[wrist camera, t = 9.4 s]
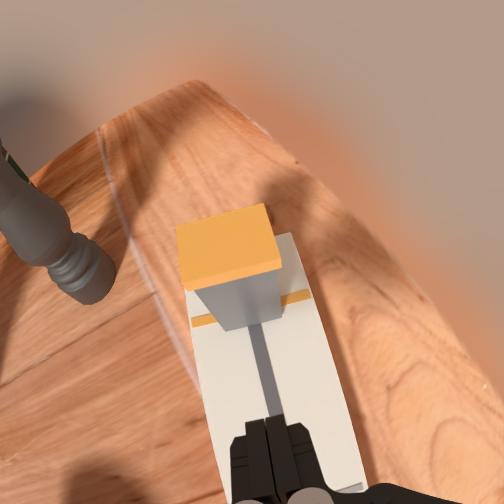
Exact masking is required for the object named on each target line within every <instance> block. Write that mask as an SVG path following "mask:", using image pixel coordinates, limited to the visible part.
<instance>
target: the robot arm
mask: <svg viewBox="0 0 504 504" xmlns="http://www.w3.org/2000/svg"><path fill="white" fill-rule="evenodd" d="M245 432H246V435H243V436H238V437H234V440H233V442H232V444H231V446H230V468H231V470H230V471H231V494H232V503H231V504H462V503H457V502H453V501H448V500H444V499H440V498H437V497H433V496H429V495H426V494H422V493H419V492H416V491H412V490H409V489H406V488H403V487H400V486H397V485H394V484H391V483H380V484H376V485H373V486H371V487H370V488H368V489H367V490H365V491H364V492H358V493H340V492H336V491H334V490H332V489H331V488H329V487H328V486H327V484H326V482H325V480H324V477H323V474H322V471H321V468H320V464H319V461H318V458H317V455H316V452H315V449H314V446H313V443H312V439H311V436H310V433H309V430H308V429H307V428H306V427H305V426H304V425H303V424H302V423H300V422H299V423H295V424H292V425H288V426H287V424H286V420H285V417H284V414H283V413H282V414H279V415H274V416H270V417H266V418H265V420H264V418H262V419H258V420H253V421H248V422H245Z"/></svg>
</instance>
